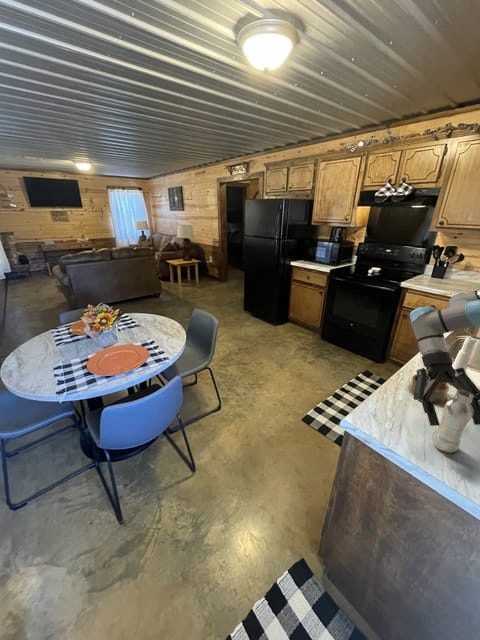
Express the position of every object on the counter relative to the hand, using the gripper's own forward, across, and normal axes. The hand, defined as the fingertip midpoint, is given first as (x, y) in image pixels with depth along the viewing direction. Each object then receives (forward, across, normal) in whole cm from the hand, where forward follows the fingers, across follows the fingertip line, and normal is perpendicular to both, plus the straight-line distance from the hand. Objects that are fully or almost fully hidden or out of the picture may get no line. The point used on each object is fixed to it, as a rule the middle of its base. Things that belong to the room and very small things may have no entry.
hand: (457, 425), depth 75 cm
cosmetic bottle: (-16, -29, -30) cm, 44 cm away
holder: (-11, -12, -25) cm, 30 cm away
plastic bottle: (+6, 0, -8) cm, 10 cm away
